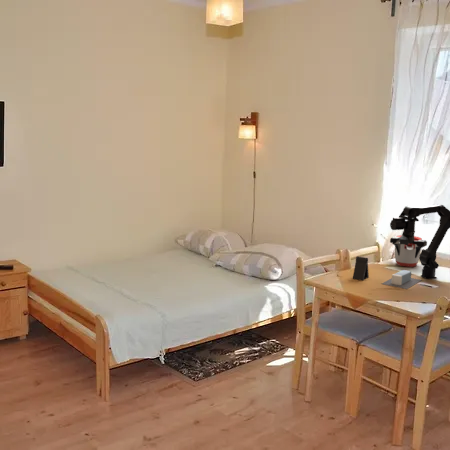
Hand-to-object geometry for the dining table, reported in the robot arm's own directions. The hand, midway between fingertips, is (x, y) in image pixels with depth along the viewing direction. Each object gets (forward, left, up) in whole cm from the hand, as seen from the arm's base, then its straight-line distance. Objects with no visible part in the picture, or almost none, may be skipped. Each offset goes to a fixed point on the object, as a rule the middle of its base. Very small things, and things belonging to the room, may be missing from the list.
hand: (407, 256), depth 303 cm
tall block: (+1, +1, -10) cm, 10 cm away
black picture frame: (+23, -9, -13) cm, 28 cm away
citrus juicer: (-20, -25, -13) cm, 35 cm away
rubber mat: (+6, +5, -13) cm, 15 cm away
